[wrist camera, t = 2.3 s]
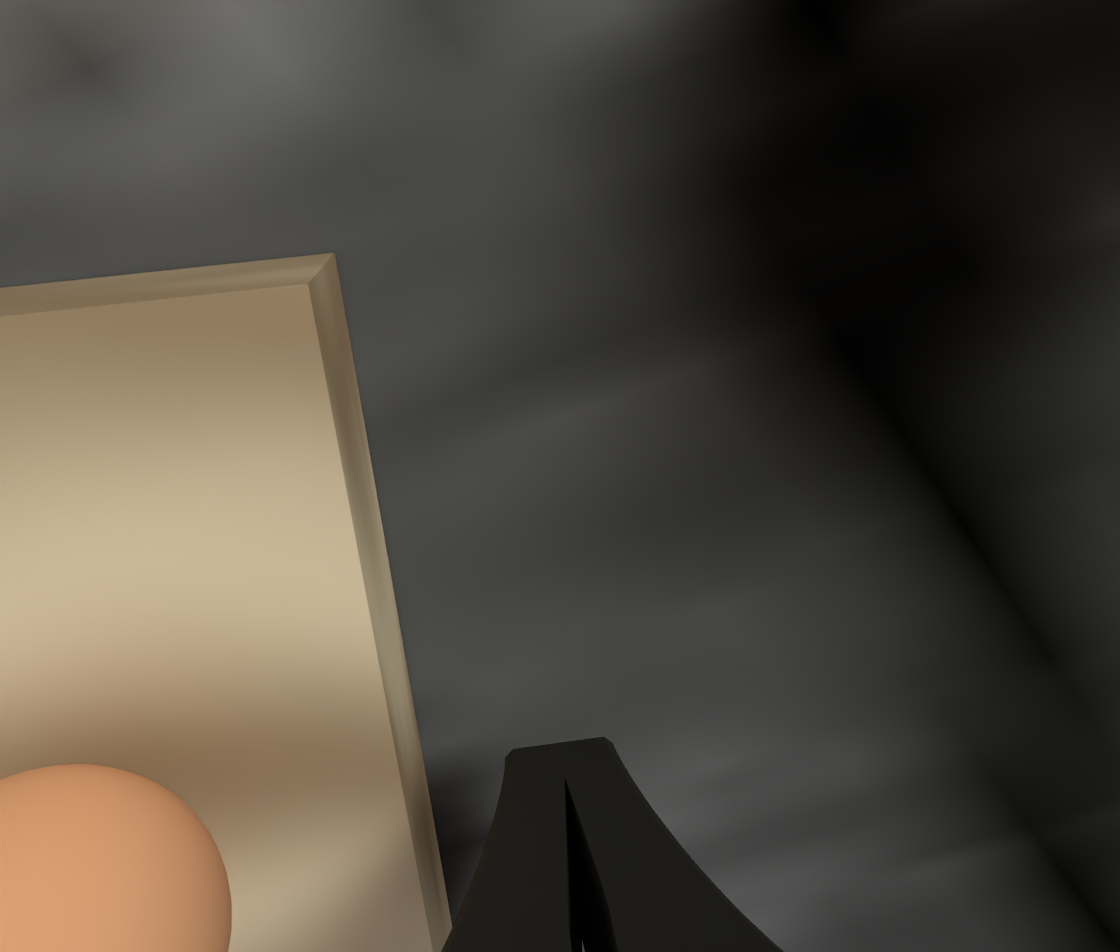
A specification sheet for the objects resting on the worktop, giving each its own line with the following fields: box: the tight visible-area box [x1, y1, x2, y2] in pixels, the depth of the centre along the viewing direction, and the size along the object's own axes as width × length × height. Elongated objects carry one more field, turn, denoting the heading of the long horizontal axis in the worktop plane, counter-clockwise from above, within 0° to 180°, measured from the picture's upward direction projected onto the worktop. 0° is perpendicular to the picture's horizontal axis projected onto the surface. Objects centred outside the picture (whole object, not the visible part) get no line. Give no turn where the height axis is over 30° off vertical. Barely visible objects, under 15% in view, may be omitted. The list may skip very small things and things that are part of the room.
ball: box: [0, 764, 232, 952], centre depth 11 cm, size 4×4×4 cm
